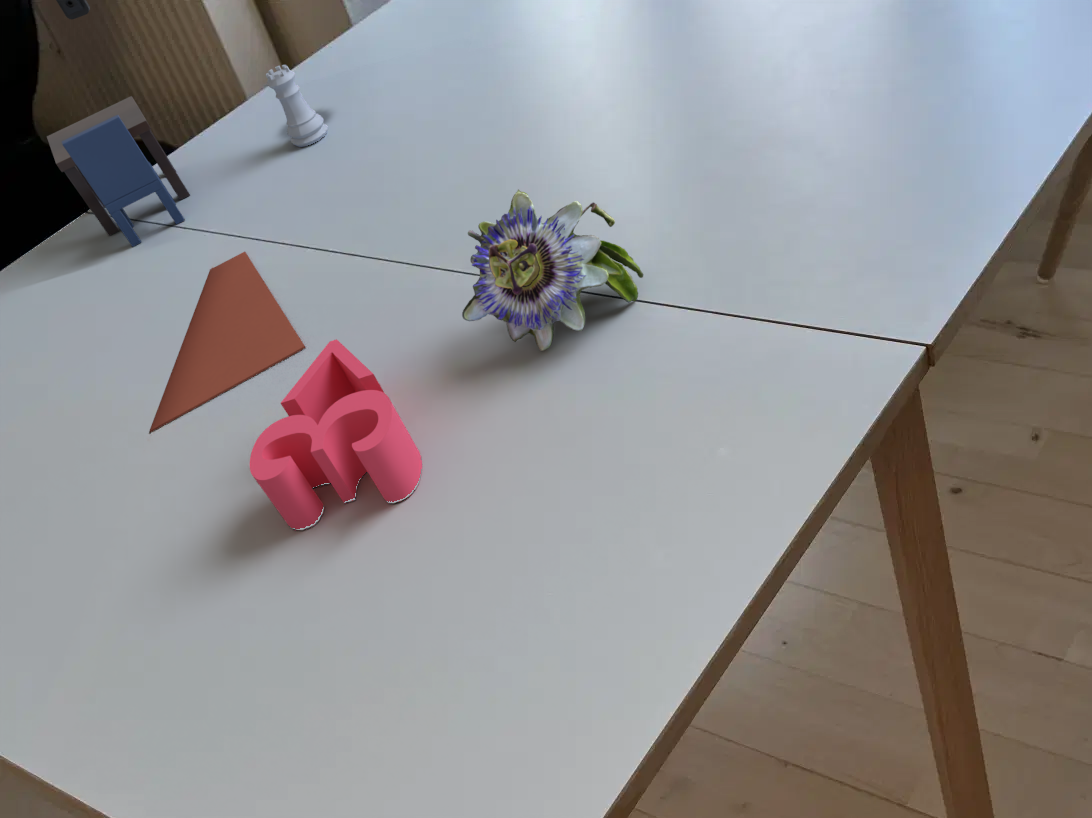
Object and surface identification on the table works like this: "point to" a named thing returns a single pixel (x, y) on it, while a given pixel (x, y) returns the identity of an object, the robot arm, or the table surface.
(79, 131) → the side table
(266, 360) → the flat trapezoid
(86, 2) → the robot arm
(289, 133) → the rook chess piece
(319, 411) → the letters
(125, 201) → the chair
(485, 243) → the passion flower
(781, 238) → the table surface
